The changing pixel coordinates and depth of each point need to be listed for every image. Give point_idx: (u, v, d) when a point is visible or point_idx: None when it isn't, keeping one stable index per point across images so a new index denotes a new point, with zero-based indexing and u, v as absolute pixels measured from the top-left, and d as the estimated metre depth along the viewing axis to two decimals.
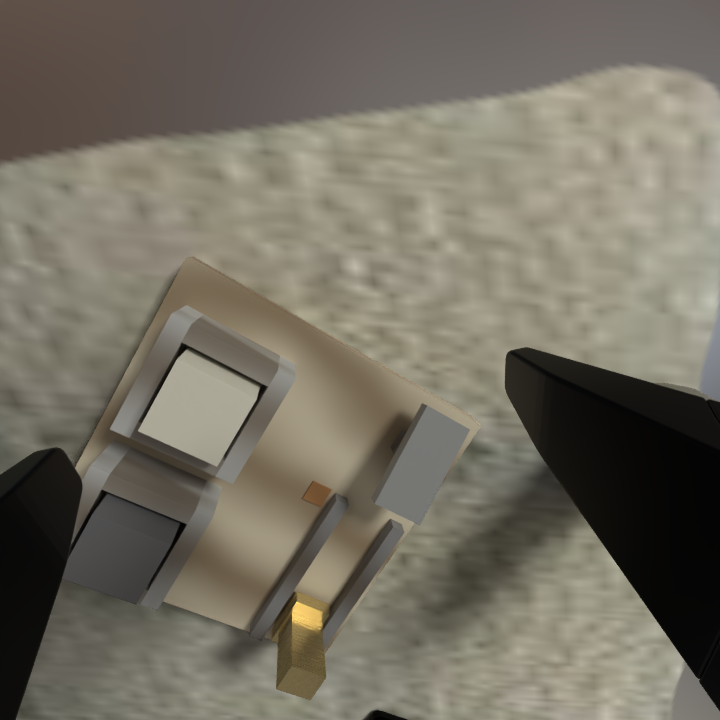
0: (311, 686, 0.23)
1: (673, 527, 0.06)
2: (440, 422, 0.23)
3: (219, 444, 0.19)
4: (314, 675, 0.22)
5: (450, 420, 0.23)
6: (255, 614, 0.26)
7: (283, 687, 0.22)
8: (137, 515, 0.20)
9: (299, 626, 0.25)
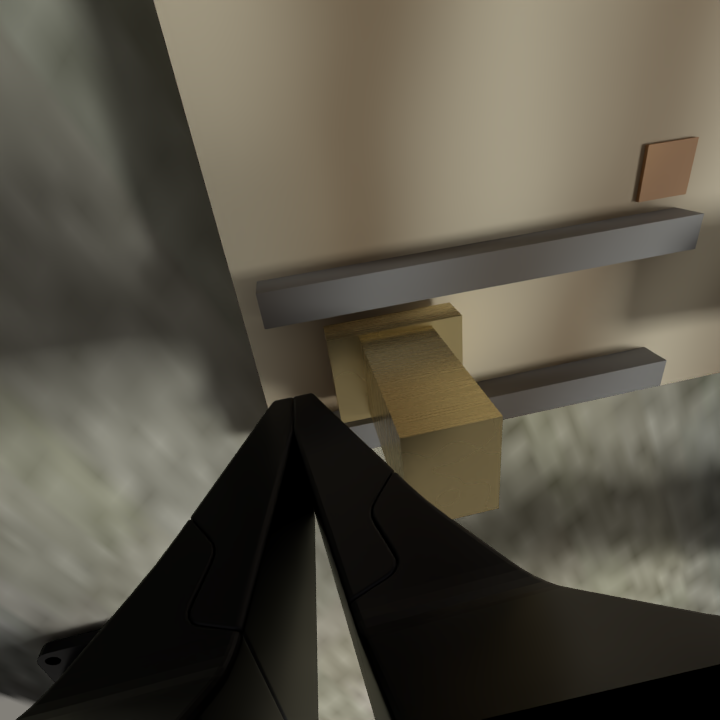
0: (454, 502, 0.07)
1: (345, 612, 0.05)
2: None
3: None
4: (492, 482, 0.07)
5: None
6: (291, 272, 0.10)
7: (416, 449, 0.07)
8: None
9: None
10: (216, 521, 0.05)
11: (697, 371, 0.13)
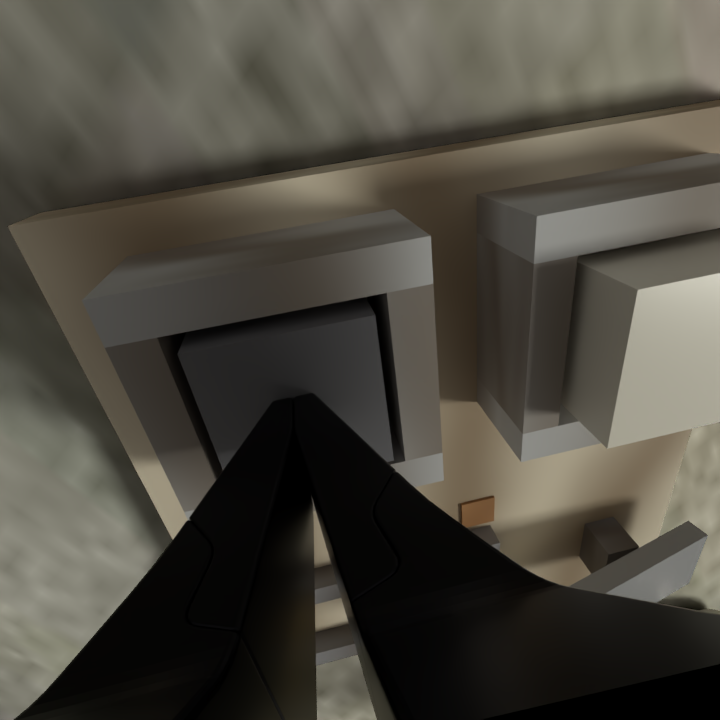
0: None
1: (347, 611, 0.05)
2: (691, 559, 0.16)
3: (653, 424, 0.09)
4: None
5: (694, 563, 0.16)
6: None
7: None
8: None
9: None
10: (214, 521, 0.05)
11: None
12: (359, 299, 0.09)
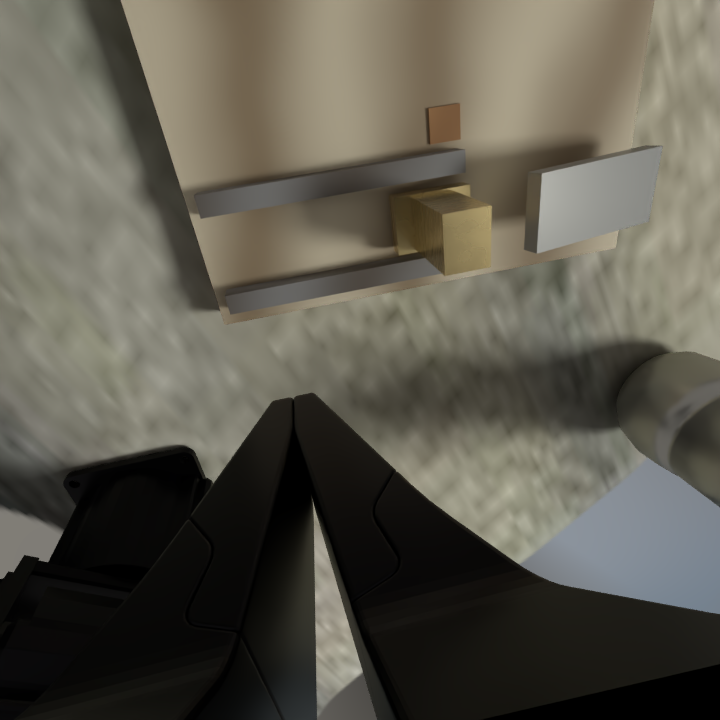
0: (467, 259, 0.14)
1: (347, 611, 0.05)
2: (648, 179, 0.17)
3: None
4: (487, 248, 0.14)
5: (652, 189, 0.17)
6: (217, 186, 0.16)
7: (449, 222, 0.14)
8: None
9: None
10: (214, 521, 0.05)
11: (503, 265, 0.20)
12: None
